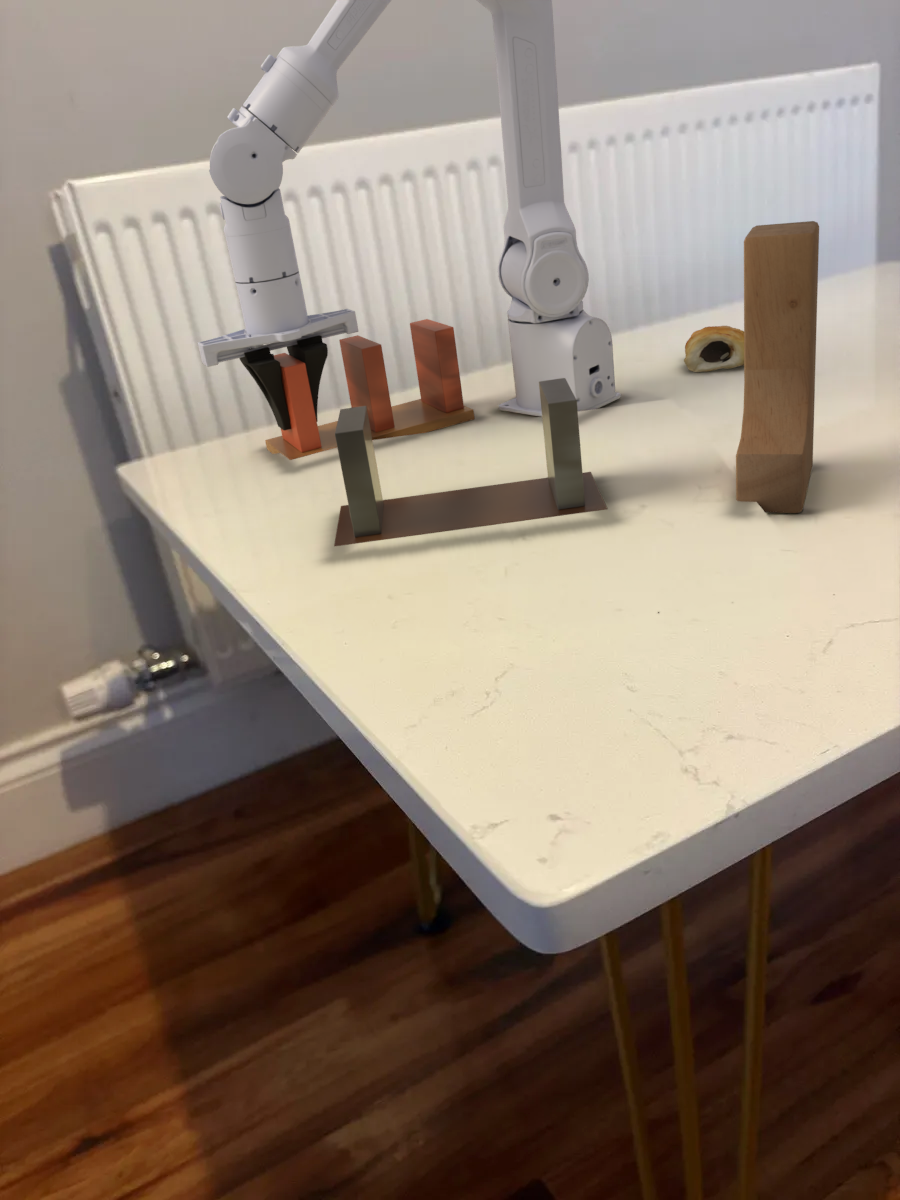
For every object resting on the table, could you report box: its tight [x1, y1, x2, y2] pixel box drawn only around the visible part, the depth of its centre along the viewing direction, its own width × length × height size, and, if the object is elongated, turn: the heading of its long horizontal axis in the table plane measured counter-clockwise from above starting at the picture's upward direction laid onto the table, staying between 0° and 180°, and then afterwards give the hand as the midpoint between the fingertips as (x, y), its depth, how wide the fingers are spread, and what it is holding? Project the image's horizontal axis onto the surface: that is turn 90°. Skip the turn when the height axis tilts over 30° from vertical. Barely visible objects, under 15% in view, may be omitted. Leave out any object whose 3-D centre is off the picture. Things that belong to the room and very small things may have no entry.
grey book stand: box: [333, 378, 608, 547], centre depth 76 cm, size 20×8×9 cm, turn 92°
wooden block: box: [735, 220, 820, 514], centre depth 71 cm, size 9×4×18 cm, turn 159°
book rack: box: [264, 318, 475, 461], centre depth 99 cm, size 19×8×9 cm, turn 116°
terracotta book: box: [274, 352, 322, 453], centre depth 96 cm, size 2×6×8 cm, turn 26°
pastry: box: [683, 325, 744, 373], centre depth 107 cm, size 9×7×4 cm
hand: (297, 424), depth 97 cm, fingers closed on terracotta book, 2 cm apart
